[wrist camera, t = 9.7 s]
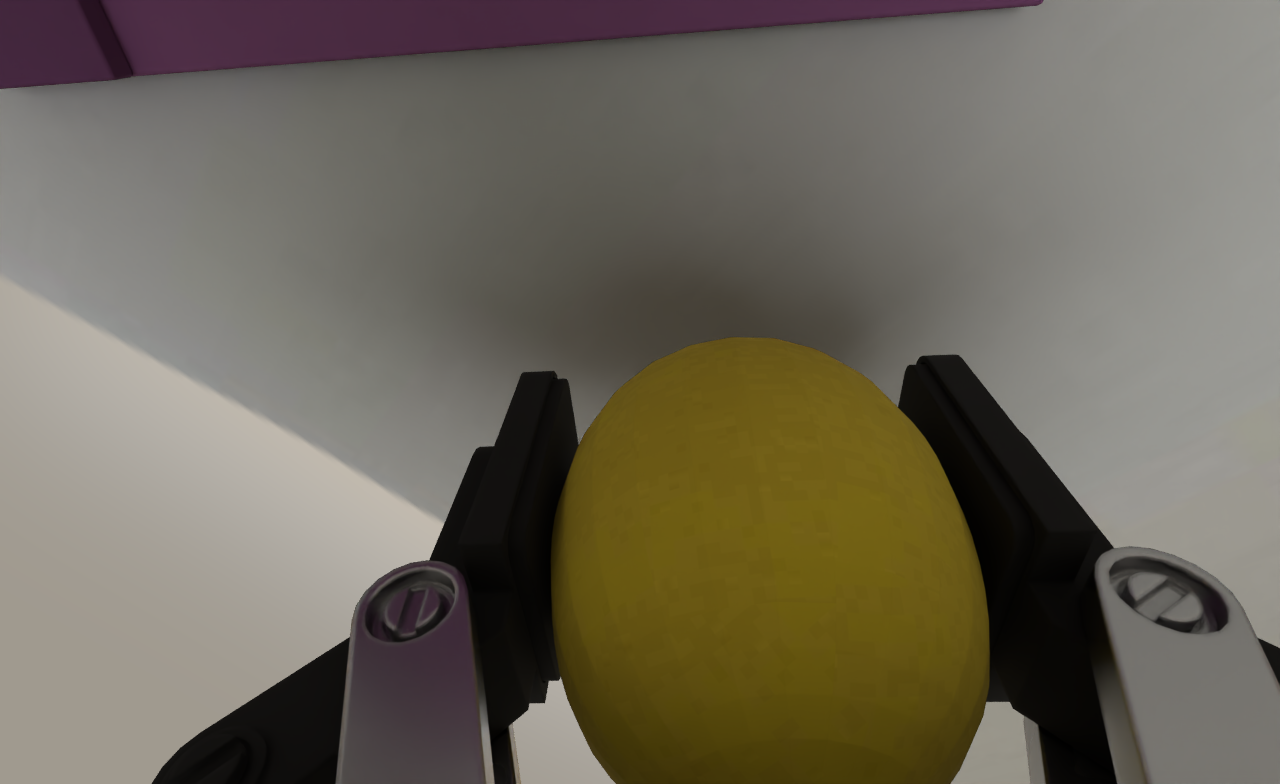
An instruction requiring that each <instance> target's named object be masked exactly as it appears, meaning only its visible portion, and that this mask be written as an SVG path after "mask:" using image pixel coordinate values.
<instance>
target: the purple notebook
mask: <svg viewBox="0 0 1280 784" xmlns="http://www.w3.org/2000/svg"><path fill="white" fill-rule="evenodd" d="M1042 2H1043V0H0V89H5V88H18V87H31V86H44V85H56V84H69V83H82V82H95V81H108V80H117V79H122V78H128V77H131V76H144V75H157V74H170V73H182V72H195V71H208V70H221V69H233V68H246V67H259V66H272V65H284V64H297V63H310V62H323V61H335V60H348V59H361V58H374V57H386V56H399V55H412V54H425V53H437V52H450V51H463V50H476V49H489V48H501V47H514V46H527V45H540V44H552V43H565V42H578V41H591V40H603V39H616V38H629V37H642V36H654V35H667V34H680V33H693V32H705V31H718V30H731V29H744V28H756V27H769V26H782V25H795V24H808V23H820V22H833V21H846V20H859V19H871V18H884V17H897V16H910V15H922V14H935V13H948V12H961V11H973V10H986V9H999V8H1012V7H1024V6H1037V5H1039V4H1041V3H1042Z"/></svg>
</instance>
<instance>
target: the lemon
mask: <svg viewBox="0 0 1280 784" xmlns="http://www.w3.org/2000/svg"><path fill="white" fill-rule="evenodd" d="M551 603H552V624H553V634H554V643H555V650H556V655H557V661H558V667H559V672H560V675H561V679H562V682H563V685H564V689H565V692H566V695H567V699H568V701H569V703H570V706H571V708H572V710H573V712H574V715H575V717H576V720H577V722H578V724H579V726H580V729H581V730H582V732H583V735H584V737H585V739H586V741H587V743H588V745H589V747H590V749H591V751H592V753H593V755H594V756H595V757H596V759H597V760H598V761H599V763H600V764H601V766H602V767H603V768H604V770H605V771H606V772H607V774H608V775H609V776H610V778H611V779H612V780H613V781H614V782H615V783H616V784H950V783H951V782H952V780H953V779H954V777H955V776H956V775H957V773H958V772H959V770H960V768H961V766H962V764H963V761H964V759H965V757H966V755H967V752H968V750H969V748H970V745H971V743H972V741H973V739H974V736H975V734H976V732H977V729H978V727H979V725H980V722H981V720H982V718H983V715H984V710H985V705H986V700H987V694H988V689H989V667H990V650H989V617H988V609H987V601H986V592H985V587H984V582H983V577H982V572H981V567H980V562H979V559H978V555H977V552H976V548H975V544H974V541H973V537H972V535H971V532H970V529H969V526H968V524H967V521H966V518H965V516H964V513H963V511H962V509H961V507H960V504H959V502H958V500H957V498H956V496H955V494H954V491H953V489H952V487H951V485H950V483H949V481H948V478H947V476H946V474H945V472H944V470H943V468H942V466H941V464H940V462H939V460H938V458H937V456H936V454H935V453H934V451H933V449H932V448H931V446H930V445H929V443H928V441H927V440H926V438H925V437H924V436H923V435H922V433H921V432H920V431H919V430H918V428H917V427H916V426H915V425H914V423H913V422H912V421H911V420H910V419H909V418H908V417H907V416H906V415H905V414H904V413H903V412H902V411H901V410H900V409H899V408H898V407H897V406H896V405H895V404H894V403H893V402H892V401H891V400H890V399H889V398H888V397H887V396H886V395H885V394H884V393H883V392H882V391H881V390H880V389H879V388H878V387H877V386H876V385H875V384H874V383H873V382H872V381H870V380H869V379H868V378H866V377H865V376H864V375H862V374H861V373H859V372H858V371H856V370H854V369H852V368H850V367H848V366H847V365H845V364H843V363H841V362H839V361H838V360H836V359H834V358H832V357H830V356H828V355H827V354H825V353H823V352H821V351H818V350H816V349H814V348H810V347H806V346H803V345H799V344H795V343H791V342H787V341H783V340H779V339H776V338H748V337H729V338H724V339H719V340H714V341H709V342H704V343H699V344H694V345H690V346H688V347H685V348H683V349H681V350H679V351H676V352H674V353H672V354H670V355H667V356H665V357H663V358H661V359H658V360H656V361H654V362H652V363H651V364H650V365H648V366H647V367H646V368H645V369H643V370H642V371H641V372H639V373H638V374H637V375H635V376H634V377H633V378H632V379H630V380H629V381H628V382H626V383H625V384H624V385H623V386H622V387H621V388H619V389H618V390H617V391H616V392H615V393H614V394H613V396H612V397H611V398H610V400H609V401H608V402H607V404H606V405H605V406H604V408H603V409H602V410H601V412H600V413H599V414H598V416H597V417H596V418H595V420H594V421H593V423H592V424H591V425H590V427H589V428H588V430H587V431H586V432H585V434H584V436H583V438H582V440H581V442H580V444H579V446H578V448H577V450H576V453H575V456H574V459H573V462H572V464H571V467H570V470H569V473H568V475H567V478H566V481H565V484H564V487H563V489H562V492H561V495H560V498H559V501H558V505H557V509H556V514H555V518H554V525H553V532H552V541H551Z"/></svg>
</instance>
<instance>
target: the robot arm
mask: <svg viewBox="0 0 1280 784" xmlns="http://www.w3.org/2000/svg"><path fill="white" fill-rule="evenodd" d="M898 408H899V409H900V410H901V411H902V412H903V413H904V414H905V415H906V416H907V417H908V418H909V419H910V420H911V421H912V422H913V423H914V425H915V426H916V427H917V428H918V430H919V431H920V432H921V433H922V435H923V436H924V437H925V438H926V440H927V441H928V443H929V445H930V446H931V448H932V449H933V451H934V453H935V454H936V456H937V458H938V460H939V462H940V464H941V466H942V468H943V470H944V472H945V474H946V476H947V478H948V481H949V483H950V485H951V487H952V489H953V491H954V494H955V496H956V498H957V500H958V502H959V504H960V507H961V509H962V511H963V513H964V516H965V518H966V521H967V524H968V526H969V529H970V532H971V535H972V537H973V541H974V544H975V548H976V552H977V555H978V559H979V562H980V567H981V572H982V577H983V582H984V587H985V592H986V601H987V609H988V617H989V650H990V667H989V689H988V694H987V700H986V702H1010V703H1011V705H1012V707H1013V709H1015V710H1016V711H1018V712H1019V713H1021V714H1022V715H1024V729H1025V738H1026V747H1027V756H1028V765H1029V774H1030V783H1031V784H1280V648H1278V647H1276V646H1274V645H1272V644H1270V643H1268V642H1265V641H1263V640H1261V639H1259V638H1257V636H1256V634H1255V632H1254V630H1253V628H1252V626H1251V623H1250V621H1249V619H1248V617H1247V615H1246V613H1245V611H1244V609H1243V607H1242V606H1241V604H1240V603H1239V601H1238V600H1237V599H1236V597H1235V596H1234V594H1233V593H1232V592H1231V591H1230V590H1229V589H1228V588H1227V587H1226V586H1224V585H1223V584H1222V583H1221V582H1220V581H1219V580H1218V579H1217V578H1216V577H1214V576H1212V575H1211V574H1209V573H1208V572H1206V571H1205V570H1203V569H1201V568H1200V567H1198V566H1197V565H1195V564H1193V563H1190V562H1188V561H1186V560H1184V559H1181V558H1179V557H1177V556H1175V555H1172V554H1169V553H1165V552H1162V551H1158V550H1154V549H1151V548H1141V547H1131V546H1129V547H1121V548H1114V547H1113V546H1112V545H1111V544H1110V542H1109V541H1108V540H1107V538H1106V537H1105V536H1104V535H1103V533H1102V532H1101V531H1100V530H1099V528H1098V527H1097V526H1096V525H1095V523H1094V522H1093V521H1092V520H1091V518H1090V517H1089V516H1088V515H1087V513H1086V512H1085V511H1084V509H1083V508H1082V507H1081V506H1080V504H1079V503H1078V502H1077V501H1076V499H1075V498H1074V497H1073V496H1072V494H1071V493H1070V492H1069V491H1068V489H1067V488H1066V487H1065V485H1064V484H1063V483H1062V482H1061V480H1060V479H1059V478H1058V477H1057V475H1056V474H1055V473H1054V472H1053V470H1052V469H1051V468H1050V467H1049V465H1048V464H1047V463H1046V462H1045V460H1044V459H1043V458H1042V456H1041V455H1040V454H1039V453H1038V451H1037V450H1036V449H1035V448H1034V446H1033V445H1032V444H1031V443H1030V441H1029V440H1028V439H1027V438H1026V437H1025V436H1024V435H1023V434H1022V433H1021V432H1020V431H1019V430H1018V429H1017V427H1016V426H1015V425H1014V424H1013V422H1012V421H1011V420H1010V419H1009V417H1008V416H1007V415H1006V413H1005V412H1004V411H1003V410H1002V408H1001V407H1000V406H999V405H998V403H997V402H996V401H995V399H994V398H993V397H992V396H991V394H990V393H989V392H988V391H987V389H986V388H985V387H984V386H983V384H982V383H981V382H980V380H979V379H978V378H977V377H976V375H975V374H974V373H973V372H972V370H971V369H970V368H969V367H968V365H967V364H966V363H965V361H964V360H963V359H962V358H961V357H960V356H959V355H932V356H921V357H920V358H919V359H918V361H917V363H916V365H909V366H907V368H906V371H905V375H904V380H903V385H902V390H901V395H900V401H899V406H898ZM578 446H579V445H578V439H577V432H576V426H575V420H574V413H573V407H572V401H571V394H570V388H569V383H568V380H567V379H558V378H557V375H556V372H555V371H542V372H523V373H522V374H521V376H520V379H519V382H518V384H517V387H516V390H515V392H514V395H513V398H512V400H511V403H510V406H509V408H508V411H507V414H506V416H505V419H504V422H503V424H502V427H501V430H500V432H499V435H498V438H497V440H496V443H495V446H489V447H479V448H477V449H476V450H475V452H474V454H473V456H472V458H471V461H470V463H469V465H468V468H467V470H466V473H465V475H464V478H463V480H462V482H461V485H460V487H459V490H458V492H457V494H456V497H455V499H454V502H453V504H452V507H451V509H450V511H449V514H448V516H447V519H446V521H445V523H444V526H443V528H442V531H441V533H440V536H439V538H438V540H437V543H436V545H435V548H434V550H433V553H432V555H431V557H430V560H429V561H428V560H426V561H421V562H413V563H409V564H407V565H404V566H401V567H399V568H396V569H394V570H392V571H391V572H389V573H387V574H386V575H384V576H383V577H381V578H379V579H378V580H377V581H376V582H375V583H374V584H373V585H372V586H371V587H370V588H369V589H368V590H366V591H365V593H364V594H363V596H362V597H361V599H360V600H359V602H358V603H357V605H356V607H355V611H354V614H353V618H352V623H351V633H350V637H349V638H348V639H346V640H344V641H343V642H341V643H340V644H338V645H337V646H335V647H334V648H332V649H330V650H329V651H327V652H326V653H324V654H323V655H321V656H319V657H318V658H316V659H315V660H313V661H312V662H310V663H308V664H307V665H305V666H304V667H302V668H301V669H299V670H297V671H296V672H295V673H293V674H291V675H290V676H288V677H287V678H285V679H283V680H282V681H280V682H279V683H277V684H276V685H274V686H272V687H271V688H269V689H268V690H266V691H265V692H263V693H262V694H260V695H259V696H257V697H255V698H254V699H252V700H251V701H249V702H247V703H246V704H244V705H243V706H241V707H240V708H238V709H236V710H235V711H233V712H232V713H230V714H229V715H227V716H226V717H224V718H222V719H221V720H219V721H218V722H217V723H215V724H213V725H212V726H210V727H208V728H207V729H205V730H204V731H202V732H201V733H199V734H198V735H197V736H195V737H194V738H193V739H191V740H190V741H189V742H188V743H186V744H185V745H184V746H182V747H181V748H180V749H179V750H178V751H177V752H176V753H175V754H174V755H173V756H172V758H171V759H170V760H169V761H168V762H167V763H166V764H165V765H164V766H163V767H162V768H161V770H160V771H159V773H158V775H157V776H156V778H155V779H154V781H153V782H152V784H521V780H520V773H519V766H518V759H517V752H516V744H515V737H514V730H513V724H512V723H513V722H514V721H515V720H516V719H518V718H519V717H520V716H521V715H522V714H524V713H525V712H526V711H527V710H528V707H529V703H545V700H546V694H547V688H548V682H549V681H558V680H559V679H560V677H561V675H560V672H559V667H558V661H557V655H556V650H555V643H554V634H553V624H552V603H551V541H552V532H553V525H554V518H555V514H556V509H557V505H558V501H559V498H560V495H561V492H562V489H563V487H564V484H565V481H566V478H567V475H568V473H569V470H570V467H571V464H572V462H573V459H574V456H575V453H576V450H577V448H578Z"/></svg>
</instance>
